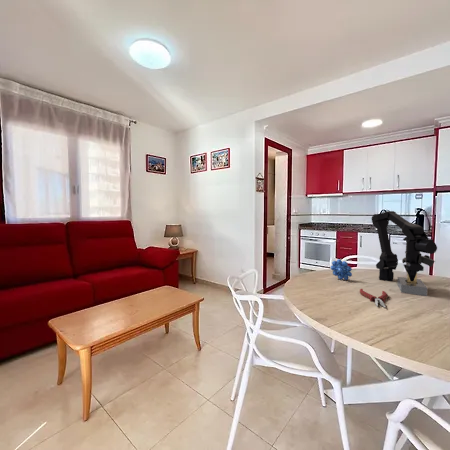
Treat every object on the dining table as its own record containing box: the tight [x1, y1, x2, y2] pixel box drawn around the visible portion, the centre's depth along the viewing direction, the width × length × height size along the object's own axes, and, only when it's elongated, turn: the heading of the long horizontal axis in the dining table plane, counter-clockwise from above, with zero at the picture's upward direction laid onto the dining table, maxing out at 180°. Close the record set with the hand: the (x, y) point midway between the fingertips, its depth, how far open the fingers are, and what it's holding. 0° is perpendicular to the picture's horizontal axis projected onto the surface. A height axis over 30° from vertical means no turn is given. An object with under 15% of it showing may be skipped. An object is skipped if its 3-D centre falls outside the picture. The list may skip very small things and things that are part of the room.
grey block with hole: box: [396, 276, 428, 297], centre depth 124 cm, size 10×16×4 cm, turn 150°
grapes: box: [330, 258, 353, 281], centre depth 141 cm, size 12×7×12 cm, turn 56°
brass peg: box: [406, 272, 418, 284], centre depth 124 cm, size 4×4×8 cm
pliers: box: [359, 288, 389, 308], centre depth 110 cm, size 12×20×3 cm, turn 158°
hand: (411, 280), depth 124 cm, fingers closed on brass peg, 3 cm apart
